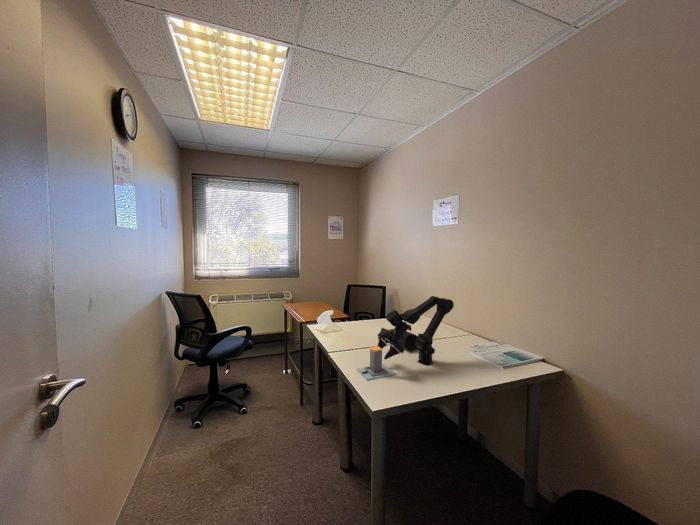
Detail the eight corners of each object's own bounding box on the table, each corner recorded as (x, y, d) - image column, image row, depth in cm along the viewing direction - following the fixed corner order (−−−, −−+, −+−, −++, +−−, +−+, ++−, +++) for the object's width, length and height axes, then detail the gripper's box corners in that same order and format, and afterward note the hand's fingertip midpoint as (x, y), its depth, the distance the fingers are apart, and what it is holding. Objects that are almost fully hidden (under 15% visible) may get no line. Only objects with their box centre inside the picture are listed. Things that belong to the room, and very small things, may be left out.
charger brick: (377, 368, 143) (377, 346, 143) (381, 372, 139) (382, 349, 139) (370, 370, 142) (370, 347, 141) (374, 373, 138) (374, 350, 137)
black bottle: (392, 340, 200) (397, 328, 202) (415, 353, 168) (422, 338, 169) (380, 335, 198) (386, 322, 200) (402, 347, 165) (408, 331, 167)
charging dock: (383, 364, 149) (383, 362, 149) (395, 374, 138) (395, 371, 138) (356, 369, 143) (356, 366, 143) (367, 380, 132) (367, 377, 132)
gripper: (380, 317, 150) (362, 340, 147) (399, 327, 133) (379, 353, 130) (392, 330, 154) (375, 352, 150) (412, 340, 137) (393, 366, 133)
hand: (380, 355), depth 141 cm, fingers open, 9 cm apart
